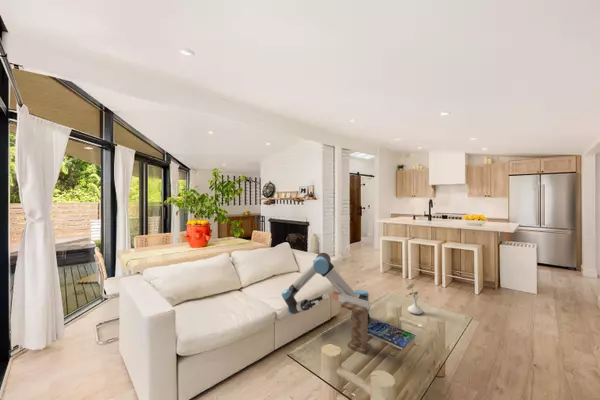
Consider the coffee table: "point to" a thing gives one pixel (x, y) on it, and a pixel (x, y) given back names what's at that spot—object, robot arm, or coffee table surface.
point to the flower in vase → (414, 307)
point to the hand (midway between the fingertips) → (324, 298)
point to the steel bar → (351, 300)
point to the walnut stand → (358, 328)
